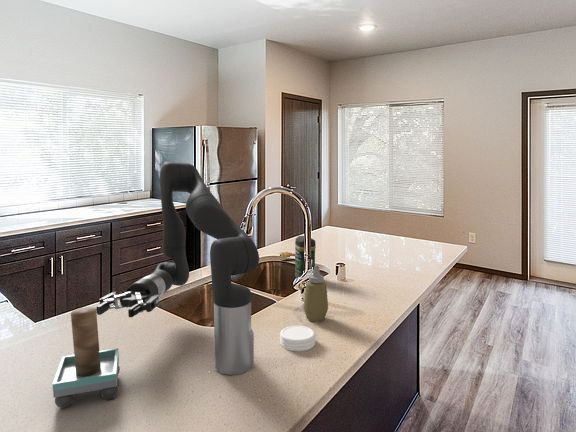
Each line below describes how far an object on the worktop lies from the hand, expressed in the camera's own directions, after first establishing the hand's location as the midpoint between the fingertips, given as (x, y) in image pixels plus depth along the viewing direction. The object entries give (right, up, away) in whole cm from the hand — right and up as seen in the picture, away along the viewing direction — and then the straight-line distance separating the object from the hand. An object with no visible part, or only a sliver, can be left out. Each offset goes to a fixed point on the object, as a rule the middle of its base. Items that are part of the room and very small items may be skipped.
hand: (113, 312), depth 99 cm
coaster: (+46, -13, +16) cm, 50 cm away
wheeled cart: (-2, -16, -8) cm, 18 cm away
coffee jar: (+50, -4, +74) cm, 90 cm away
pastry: (+43, +1, +107) cm, 115 cm away
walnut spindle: (-2, -11, -9) cm, 14 cm away
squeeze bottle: (+52, -10, +33) cm, 62 cm away
